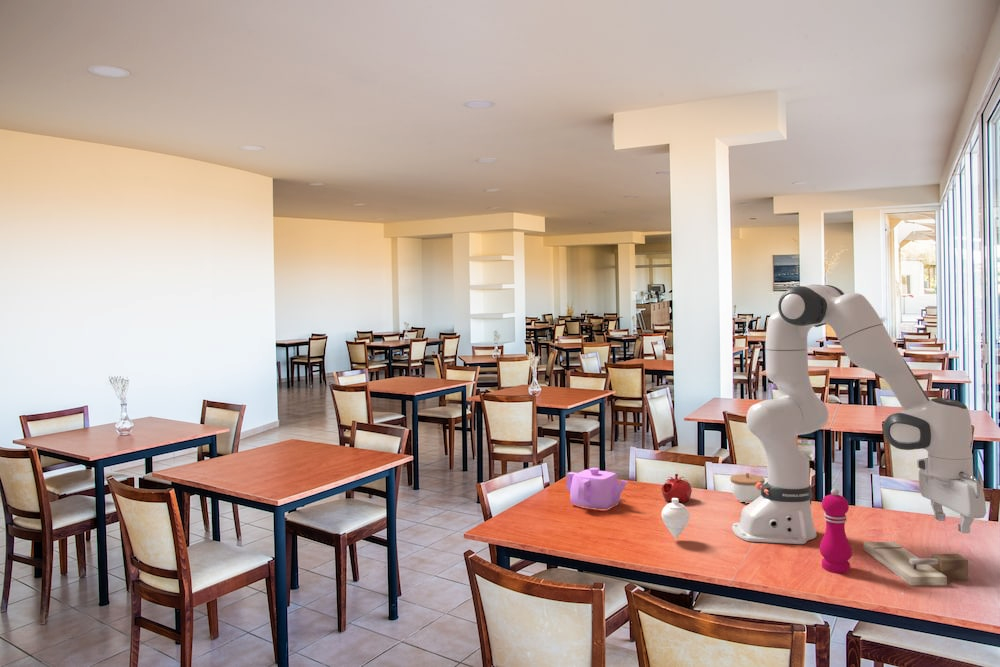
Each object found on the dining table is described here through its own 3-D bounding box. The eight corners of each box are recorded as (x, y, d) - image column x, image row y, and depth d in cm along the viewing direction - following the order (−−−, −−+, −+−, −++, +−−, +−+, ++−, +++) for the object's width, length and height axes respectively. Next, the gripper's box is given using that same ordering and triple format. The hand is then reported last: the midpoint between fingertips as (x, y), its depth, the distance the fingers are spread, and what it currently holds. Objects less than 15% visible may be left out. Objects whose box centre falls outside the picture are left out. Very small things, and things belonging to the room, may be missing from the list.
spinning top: (690, 537, 193) (690, 495, 193) (689, 546, 186) (688, 503, 186) (663, 534, 196) (662, 493, 196) (660, 544, 189) (659, 501, 188)
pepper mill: (813, 563, 171) (812, 485, 171) (841, 562, 172) (840, 484, 171) (830, 575, 164) (829, 493, 163) (858, 573, 165) (857, 491, 164)
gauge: (915, 581, 159) (915, 560, 159) (906, 574, 163) (905, 554, 163) (968, 581, 159) (968, 559, 158) (957, 574, 162) (957, 553, 162)
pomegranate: (691, 497, 233) (691, 470, 233) (692, 505, 224) (692, 477, 223) (661, 495, 236) (661, 469, 235) (661, 503, 226) (661, 476, 225)
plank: (911, 585, 157) (910, 576, 157) (863, 549, 180) (863, 541, 180) (946, 585, 156) (946, 576, 156) (894, 549, 179) (894, 541, 179)
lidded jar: (770, 505, 221) (769, 476, 220) (737, 506, 221) (736, 477, 221) (758, 496, 231) (757, 468, 231) (726, 496, 232) (726, 469, 231)
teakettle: (564, 499, 235) (563, 464, 234) (610, 495, 238) (609, 460, 237) (579, 514, 218) (578, 476, 217) (629, 509, 221) (628, 472, 221)
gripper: (993, 477, 149) (995, 540, 149) (939, 458, 169) (940, 513, 170) (963, 478, 149) (965, 540, 150) (912, 459, 170) (914, 514, 170)
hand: (951, 526), depth 160 cm, fingers open, 8 cm apart
